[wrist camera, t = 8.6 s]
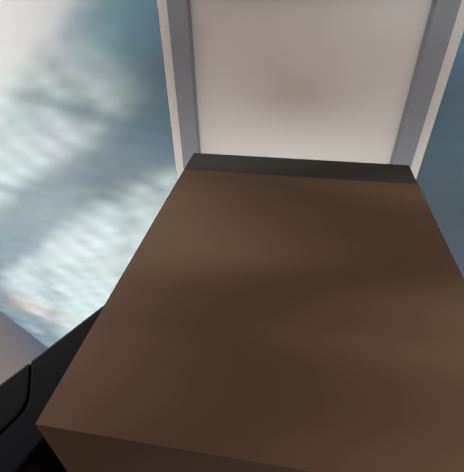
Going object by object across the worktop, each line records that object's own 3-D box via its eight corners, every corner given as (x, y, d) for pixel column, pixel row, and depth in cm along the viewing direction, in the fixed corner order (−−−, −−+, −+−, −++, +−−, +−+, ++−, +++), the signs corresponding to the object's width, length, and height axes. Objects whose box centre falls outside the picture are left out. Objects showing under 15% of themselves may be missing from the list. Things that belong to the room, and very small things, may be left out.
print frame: (490, -60, 13) (500, -61, 12) (399, 227, 20) (402, 236, 19) (152, -53, 14) (145, -53, 14) (182, 210, 21) (178, 217, 21)
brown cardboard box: (409, 164, 8) (578, 517, 3) (363, 313, 10) (411, 620, 6) (193, 152, 8) (35, 423, 3) (205, 295, 11) (125, 558, 6)
